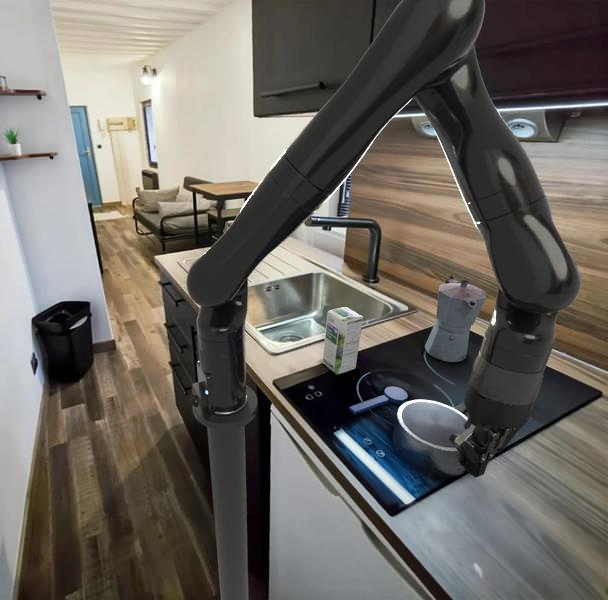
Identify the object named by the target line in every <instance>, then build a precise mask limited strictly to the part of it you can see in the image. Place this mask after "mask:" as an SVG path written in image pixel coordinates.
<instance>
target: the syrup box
mask: <svg viewBox="0 0 608 600" xmlns="http://www.w3.org/2000/svg"><path fill="white" fill-rule="evenodd" d="M363 321H364V316H363V315H361V314H358V312H356V311H354V310H353V309H350V308H349V307H347V306H344V307H337V308H334V309H330V310H327V314H326V323H325V333H324V334H325V335H324V343H323V352H322V353H323V354H322V364H323V365H325V366H326V367H327V368H328V369H329V370H331V371H332V372H333V373H334V374H335V375H341V374H344V373H347V372H349V371H353V370H355V369H356V367H357V360H358V354H359V346H360V341H361V333H362V327H363Z"/></svg>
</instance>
